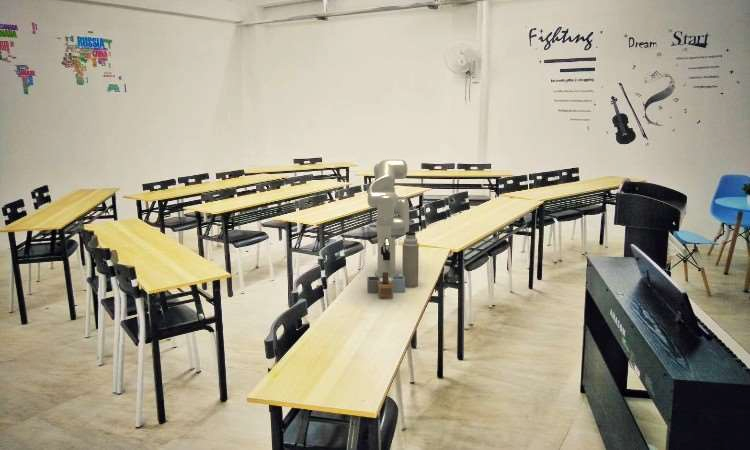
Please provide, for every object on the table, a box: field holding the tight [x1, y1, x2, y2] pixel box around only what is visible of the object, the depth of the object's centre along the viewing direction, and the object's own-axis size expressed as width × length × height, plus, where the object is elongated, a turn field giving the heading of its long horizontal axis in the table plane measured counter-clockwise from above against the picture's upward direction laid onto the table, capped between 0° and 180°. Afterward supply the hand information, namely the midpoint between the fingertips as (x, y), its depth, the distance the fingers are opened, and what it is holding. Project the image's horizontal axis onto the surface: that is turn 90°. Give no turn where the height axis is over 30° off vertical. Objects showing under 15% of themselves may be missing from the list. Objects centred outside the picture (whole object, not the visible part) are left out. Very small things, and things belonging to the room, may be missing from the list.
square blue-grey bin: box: [390, 275, 406, 294], centre depth 264 cm, size 6×6×7 cm
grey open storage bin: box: [366, 275, 381, 294], centre depth 263 cm, size 6×6×7 cm
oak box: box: [377, 288, 394, 300], centre depth 256 cm, size 6×6×6 cm
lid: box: [377, 272, 394, 288], centre depth 255 cm, size 7×7×6 cm
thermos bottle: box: [401, 231, 420, 289], centre depth 269 cm, size 8×8×28 cm
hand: (385, 257), depth 252 cm, fingers open, 9 cm apart
